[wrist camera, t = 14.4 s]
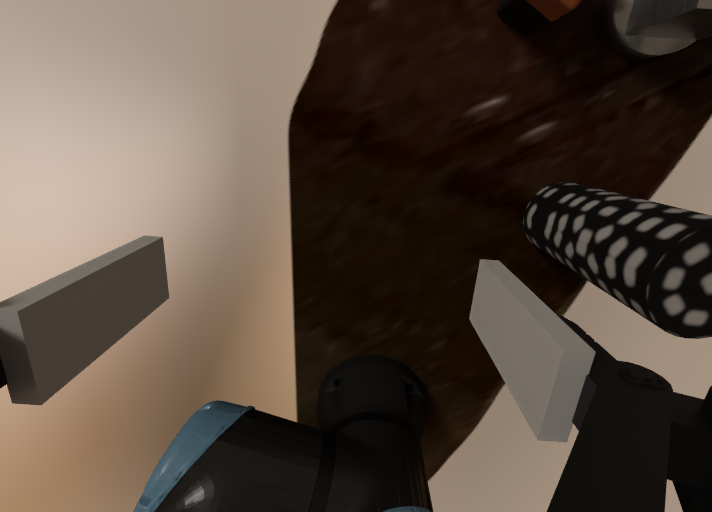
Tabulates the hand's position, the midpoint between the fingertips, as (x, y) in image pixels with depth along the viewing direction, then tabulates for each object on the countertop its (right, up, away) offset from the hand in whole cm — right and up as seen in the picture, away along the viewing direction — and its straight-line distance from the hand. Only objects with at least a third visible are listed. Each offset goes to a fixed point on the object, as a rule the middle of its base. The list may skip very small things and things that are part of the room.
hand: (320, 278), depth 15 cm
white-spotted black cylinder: (+25, +6, +28) cm, 38 cm away
